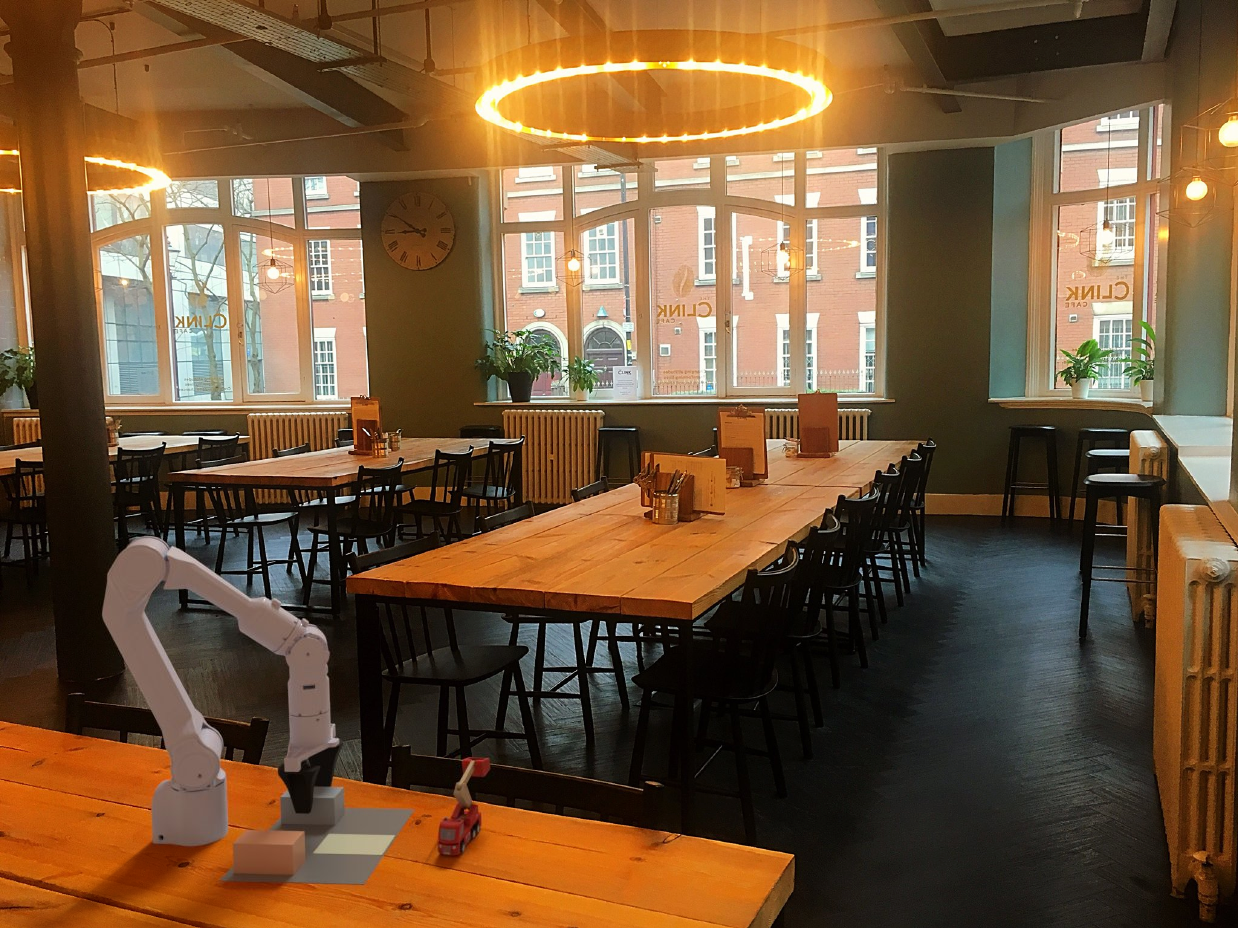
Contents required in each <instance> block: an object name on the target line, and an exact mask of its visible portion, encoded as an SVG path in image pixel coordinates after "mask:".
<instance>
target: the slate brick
mask: <svg viewBox="0 0 1238 928" xmlns="http://www.w3.org/2000/svg"><path fill="white" fill-rule="evenodd" d="M279 800H280V801H279V803H280V818H281V824H312V825H335V824H336V823H337V822H338V821H339V820H340V818H341V817H342V816H343V815H344V814H345V808H346V807H345V787H344V786H331V787H314V793H313V805H312V810H311V812H310V813H309V814H297V813H295V810H294V807H293V804H292V800H291V797H290V794H289V792H288V789H287V790H286V791H284V793H282V795H281V796H280V797H279Z"/></svg>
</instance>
